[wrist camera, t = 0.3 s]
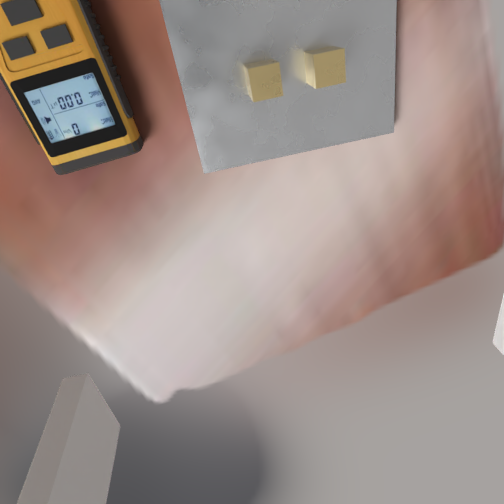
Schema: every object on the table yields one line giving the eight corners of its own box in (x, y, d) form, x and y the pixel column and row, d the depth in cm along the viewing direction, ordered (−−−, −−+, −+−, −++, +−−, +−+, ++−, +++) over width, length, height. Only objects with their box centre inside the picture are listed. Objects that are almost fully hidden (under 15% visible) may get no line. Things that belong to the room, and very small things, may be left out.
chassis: (121, -153, 25) (108, -182, 21) (392, -210, 25) (425, -248, 21) (203, 169, 36) (204, 185, 33) (388, 129, 37) (409, 141, 33)
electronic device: (62, -76, 27) (47, -89, 24) (149, 141, 35) (145, 151, 32) (-51, -41, 27) (-81, -49, 24) (61, 167, 35) (49, 180, 32)
